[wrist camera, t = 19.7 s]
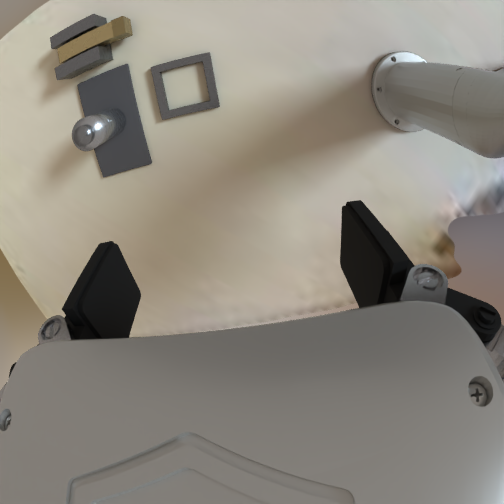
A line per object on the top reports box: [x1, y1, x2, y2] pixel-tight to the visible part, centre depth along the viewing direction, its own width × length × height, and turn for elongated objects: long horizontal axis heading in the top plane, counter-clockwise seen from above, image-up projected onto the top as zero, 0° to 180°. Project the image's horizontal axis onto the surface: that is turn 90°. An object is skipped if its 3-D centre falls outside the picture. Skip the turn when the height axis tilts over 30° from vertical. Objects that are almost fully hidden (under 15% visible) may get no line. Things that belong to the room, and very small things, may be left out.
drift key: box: [58, 16, 133, 63], centre depth 23 cm, size 10×3×3 cm, turn 98°
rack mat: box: [77, 64, 152, 177], centre depth 32 cm, size 8×15×1 cm, turn 8°
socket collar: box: [151, 53, 220, 120], centre depth 30 cm, size 8×8×1 cm
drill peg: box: [72, 108, 126, 151], centre depth 28 cm, size 4×4×9 cm
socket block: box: [50, 14, 113, 80], centre depth 23 cm, size 7×7×4 cm
